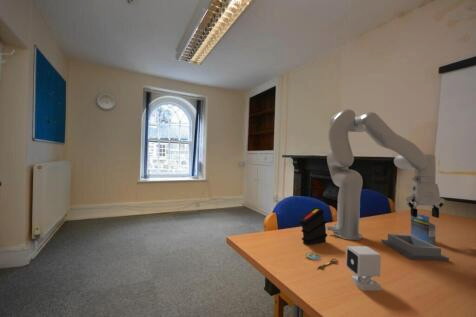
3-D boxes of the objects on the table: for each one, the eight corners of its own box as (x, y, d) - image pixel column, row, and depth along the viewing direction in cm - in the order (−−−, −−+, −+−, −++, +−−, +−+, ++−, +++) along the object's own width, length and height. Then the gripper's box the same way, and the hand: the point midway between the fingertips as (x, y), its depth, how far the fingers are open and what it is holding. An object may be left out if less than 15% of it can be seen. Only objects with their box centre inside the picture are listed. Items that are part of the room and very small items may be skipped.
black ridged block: (331, 237, 97) (322, 208, 94) (312, 255, 92) (301, 224, 89) (324, 234, 101) (315, 206, 98) (305, 251, 95) (295, 221, 92)
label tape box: (435, 243, 99) (436, 216, 99) (428, 244, 99) (429, 216, 99) (417, 237, 108) (417, 211, 108) (409, 237, 107) (410, 211, 107)
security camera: (345, 279, 66) (346, 245, 66) (367, 278, 67) (368, 245, 67) (358, 291, 60) (359, 254, 60) (382, 291, 60) (383, 254, 60)
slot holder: (409, 259, 82) (410, 247, 82) (381, 242, 99) (381, 232, 99) (448, 261, 81) (449, 249, 81) (413, 243, 98) (414, 234, 98)
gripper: (411, 180, 100) (411, 218, 100) (451, 181, 99) (451, 219, 99) (400, 179, 108) (400, 214, 107) (436, 179, 107) (436, 215, 107)
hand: (424, 216), depth 103 cm, fingers open, 9 cm apart
